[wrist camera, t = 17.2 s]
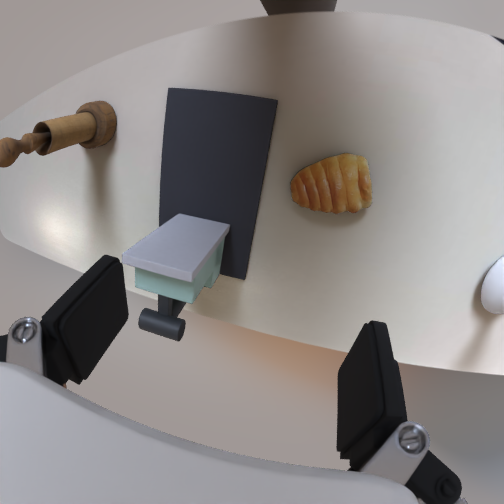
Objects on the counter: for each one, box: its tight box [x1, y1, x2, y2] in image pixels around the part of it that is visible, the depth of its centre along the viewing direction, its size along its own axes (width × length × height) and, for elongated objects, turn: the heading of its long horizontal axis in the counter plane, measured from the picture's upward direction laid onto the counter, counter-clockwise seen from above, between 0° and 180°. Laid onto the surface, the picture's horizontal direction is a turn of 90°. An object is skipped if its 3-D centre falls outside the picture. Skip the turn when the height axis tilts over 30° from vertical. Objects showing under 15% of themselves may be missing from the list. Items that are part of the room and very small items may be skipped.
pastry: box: [291, 153, 372, 214], centre depth 32 cm, size 9×7×4 cm
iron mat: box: [159, 88, 278, 280], centre depth 36 cm, size 24×13×1 cm, turn 171°
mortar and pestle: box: [0, 101, 116, 167], centre depth 27 cm, size 7×6×18 cm
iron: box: [122, 214, 230, 341], centre depth 33 cm, size 14×7×10 cm
